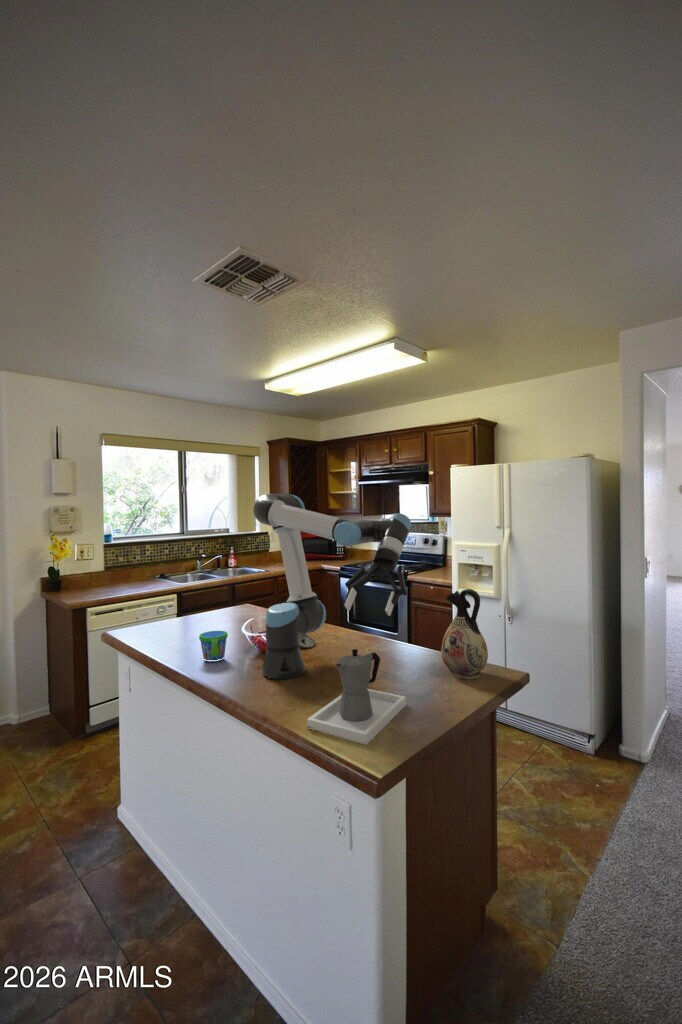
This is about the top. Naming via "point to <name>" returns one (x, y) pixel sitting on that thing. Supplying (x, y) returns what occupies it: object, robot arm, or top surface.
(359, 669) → the coffeepot
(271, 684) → the top surface
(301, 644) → the lid
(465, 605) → the ceramic jug
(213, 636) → the snack cup
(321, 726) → the docking tray
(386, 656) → the top surface
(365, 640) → the top surface
